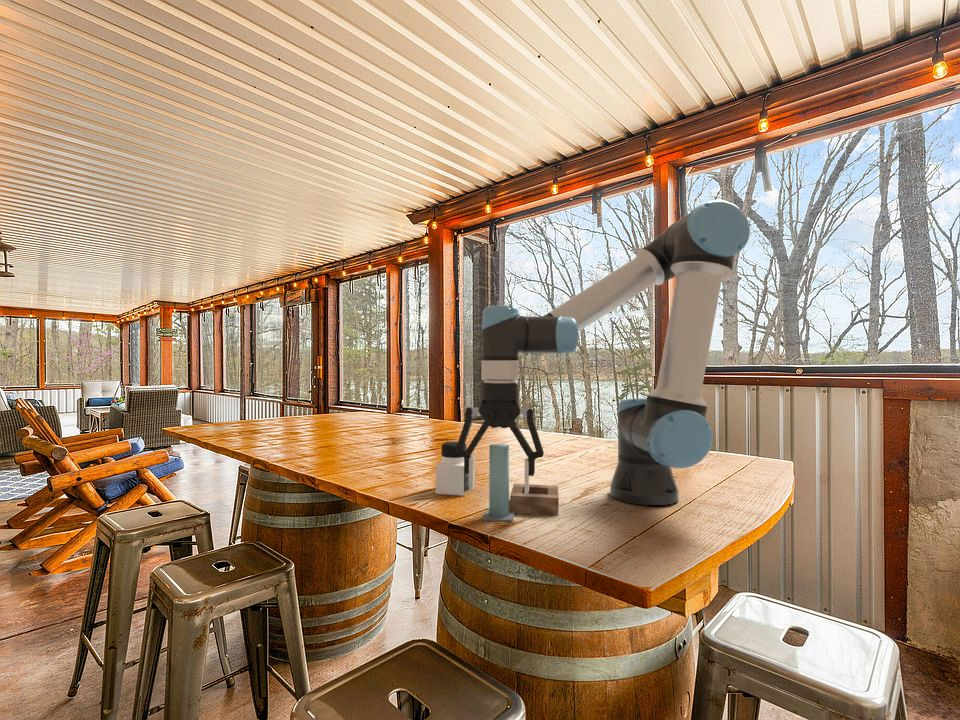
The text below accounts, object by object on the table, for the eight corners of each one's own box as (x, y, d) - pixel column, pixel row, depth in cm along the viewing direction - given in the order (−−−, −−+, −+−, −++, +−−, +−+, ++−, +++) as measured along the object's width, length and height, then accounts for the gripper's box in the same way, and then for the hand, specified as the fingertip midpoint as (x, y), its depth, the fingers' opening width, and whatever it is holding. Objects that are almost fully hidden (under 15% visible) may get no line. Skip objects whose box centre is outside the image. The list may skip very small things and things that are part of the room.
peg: (509, 511, 97) (509, 444, 97) (507, 518, 93) (508, 447, 93) (490, 510, 97) (490, 443, 98) (488, 517, 93) (488, 446, 94)
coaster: (514, 512, 98) (514, 510, 98) (512, 522, 92) (512, 520, 92) (486, 511, 99) (486, 509, 99) (482, 520, 93) (482, 518, 93)
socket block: (557, 501, 106) (557, 485, 106) (558, 515, 96) (558, 498, 96) (513, 498, 108) (513, 483, 108) (510, 512, 98) (510, 495, 98)
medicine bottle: (464, 496, 110) (464, 445, 110) (435, 494, 111) (435, 443, 111) (471, 488, 117) (471, 440, 117) (443, 486, 118) (443, 439, 118)
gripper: (556, 381, 97) (556, 488, 97) (448, 380, 101) (447, 483, 101) (557, 383, 90) (556, 498, 90) (440, 381, 93) (439, 492, 93)
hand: (499, 490), depth 95 cm, fingers open, 10 cm apart
